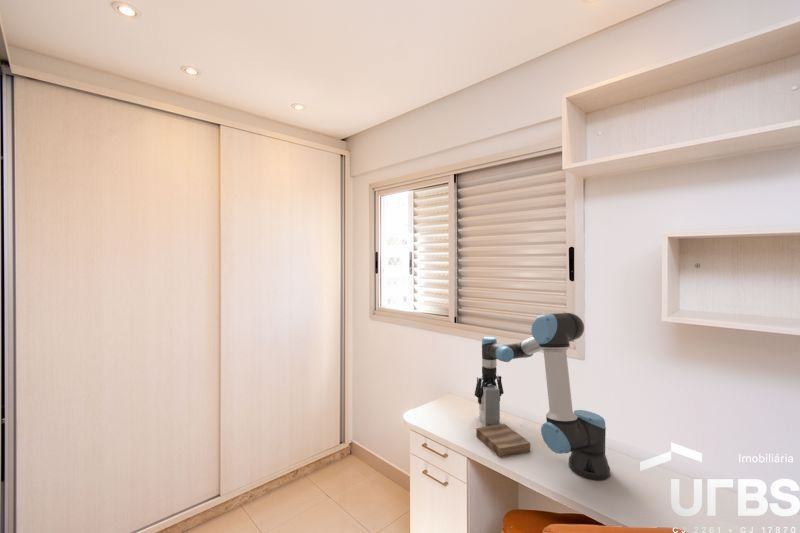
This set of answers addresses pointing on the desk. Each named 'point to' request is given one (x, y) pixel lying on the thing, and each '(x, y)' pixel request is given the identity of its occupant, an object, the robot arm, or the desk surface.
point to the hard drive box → (490, 406)
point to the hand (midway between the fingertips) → (489, 408)
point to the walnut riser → (503, 440)
